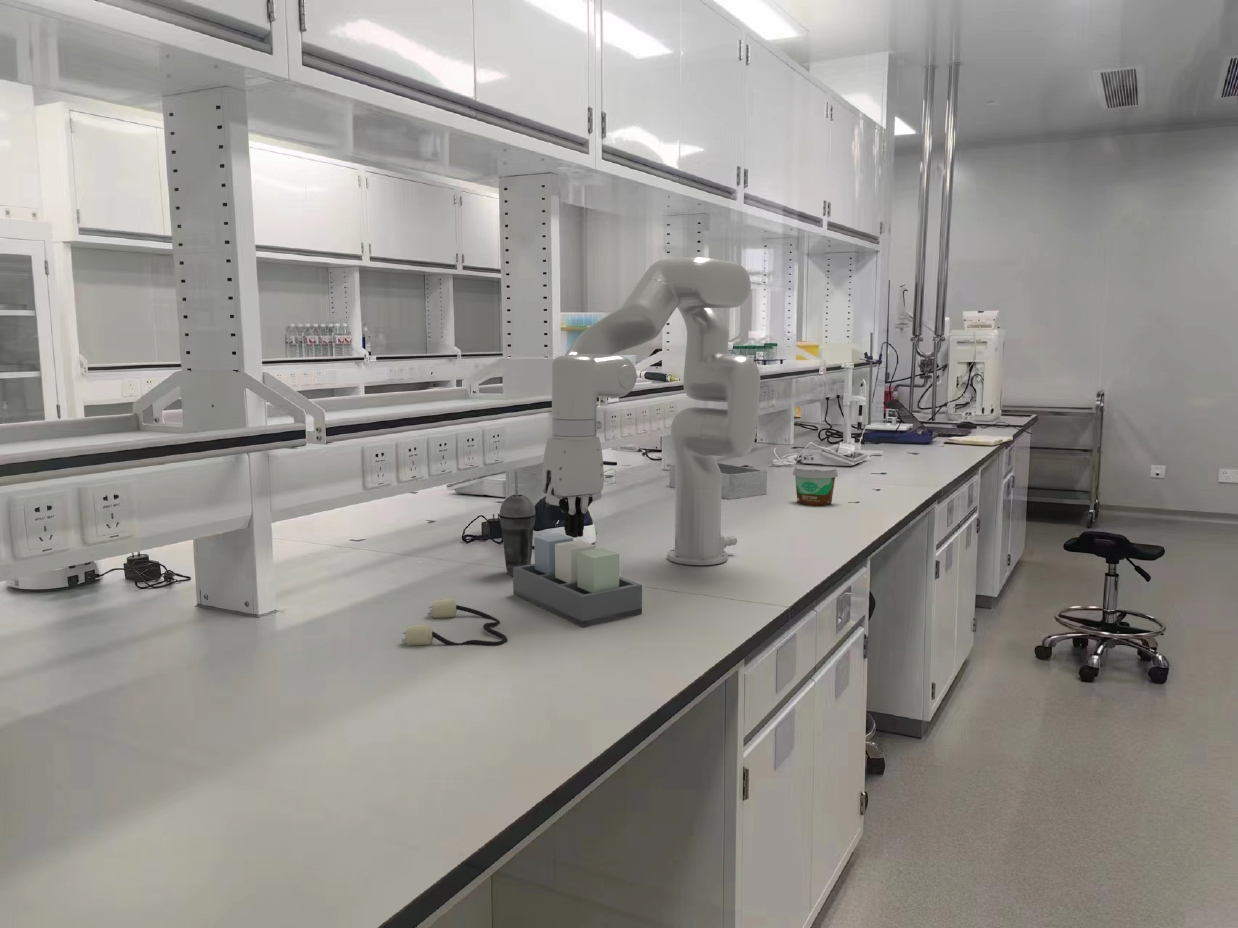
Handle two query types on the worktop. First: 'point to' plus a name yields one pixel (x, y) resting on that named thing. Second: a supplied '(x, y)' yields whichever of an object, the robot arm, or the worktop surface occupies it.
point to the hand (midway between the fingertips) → (574, 535)
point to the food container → (814, 486)
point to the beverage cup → (517, 529)
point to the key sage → (597, 570)
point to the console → (577, 597)
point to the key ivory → (568, 559)
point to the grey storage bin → (736, 481)
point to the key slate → (547, 551)
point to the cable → (447, 610)
